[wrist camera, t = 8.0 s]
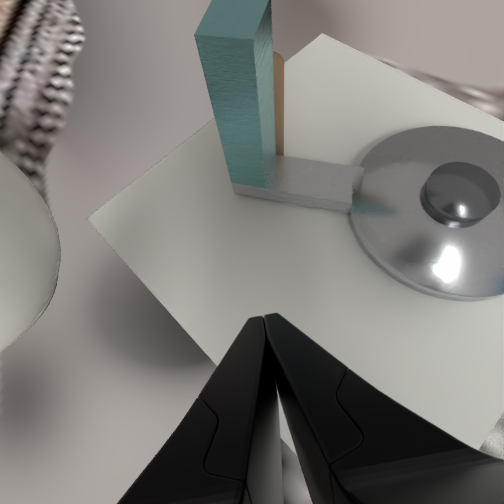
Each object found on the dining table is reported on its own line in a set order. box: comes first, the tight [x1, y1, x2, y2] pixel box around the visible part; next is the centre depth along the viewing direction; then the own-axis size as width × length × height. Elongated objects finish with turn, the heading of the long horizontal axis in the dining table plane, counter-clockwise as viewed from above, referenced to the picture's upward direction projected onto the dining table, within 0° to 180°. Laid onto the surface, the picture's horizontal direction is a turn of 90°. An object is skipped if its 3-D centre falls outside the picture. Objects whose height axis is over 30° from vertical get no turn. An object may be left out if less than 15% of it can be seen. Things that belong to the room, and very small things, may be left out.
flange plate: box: [194, 0, 504, 302], centre depth 13 cm, size 16×10×9 cm, turn 75°
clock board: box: [87, 34, 504, 455], centre depth 16 cm, size 22×22×7 cm
